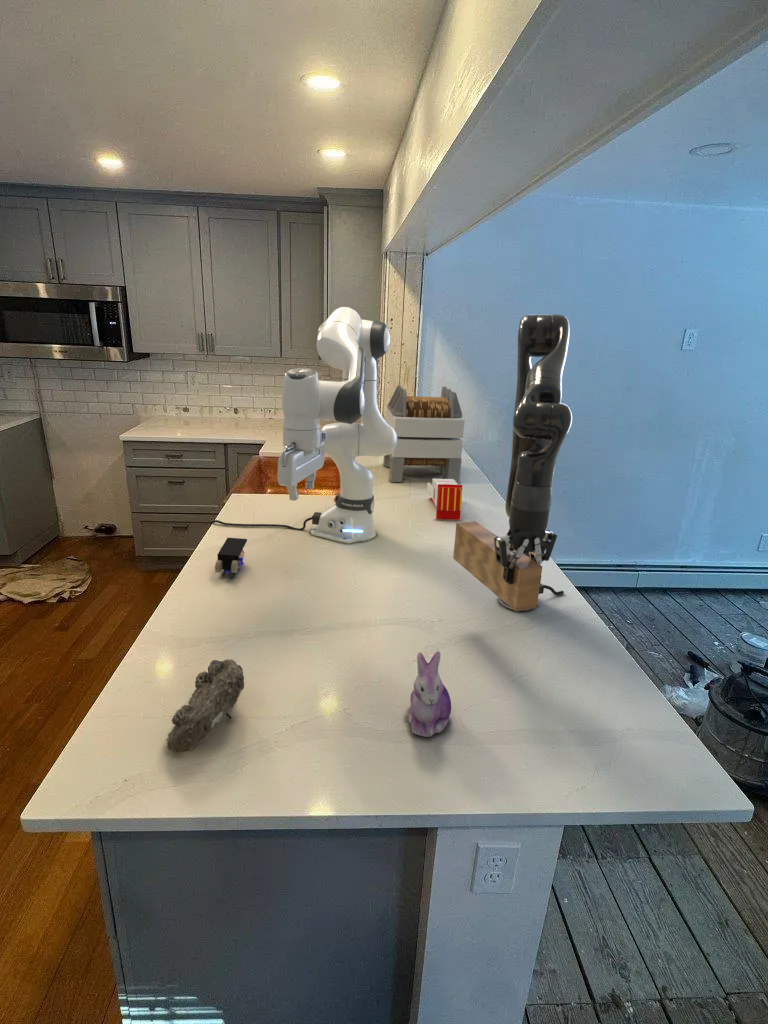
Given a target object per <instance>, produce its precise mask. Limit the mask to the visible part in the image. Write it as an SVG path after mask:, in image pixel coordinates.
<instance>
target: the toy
mask: <svg viewBox="0 0 768 1024" xmlns="http://www.w3.org/2000/svg"><path fill="white" fill-rule="evenodd" d="M431 480H432V481H431V483H430V482H427V487H426V493H427V495H429V500H430V501H431V502H432V503H433V504H434V506H435V508H436V510H435V511H436V513H435V520H442V521H443V520H445V521H447V520H448V521H461V511H462V502H463V501H462V500H463V499H462V498H463V484H459V483H457V482H456V481H455V480H454V479H445V478H432V479H431Z"/></svg>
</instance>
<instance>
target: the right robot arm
mask: <svg viewBox="0 0 768 1024" xmlns="http://www.w3.org/2000/svg"><path fill="white" fill-rule="evenodd" d="M569 342H570V321H569V319H568V318H567V316H565V315H562V314H525V315H523V316H522V317H521V319H520V321H519V323H518V329H517V344H516V345H517V348H516V350H517V353H516V355H517V357H516V359H517V360H516V390H515V400H514V408H513V409H514V410H513V417H512V436H511V437H512V439H511V458H510V469H509V475H508V483H507V489H506V496H505V506H504V507H505V508H504V509H505V514H506V516H507V517H508V525H509V529H508V531H507V533H506V534H505V535H504V536H499V535H497V536H496V537H495V538H494V545H495V555H496V561H497V562H498V563H499V564H501V565H502V566H503V567H504V571H503V579H504V581H505V582H506V583H507V584H513V577H514V570H515V568H514V567H515V565H516V562H517V560H518V559H520V558H521V556H522V554H525V555H526V556H528V557H529V558H531V559H532V560H534V561H535V562H537V563H538V564H540V565H542V563H543V562H544V561H545V562H548V561H549V560H550V558H551V555H552V552H553V550H554V547H555V543H556V541H557V538H558V535H557V534H556V533H554V532H553V531H552V530H549V529H547V528H548V525H549V524H548V523H549V517H550V511H551V507H552V498H553V481H554V474H555V468H556V464H557V460H558V456H559V454H560V451H561V449H562V446H563V444H564V442H565V440H566V438H567V435H568V434H569V431H570V429H571V427H572V423H573V414H572V411H571V409H570V407H569V406H568V405H567V404H565V403H562V402H561V401H562V397H563V396H562V395H563V381H562V380H563V373H564V368H565V365H566V360H567V355H568V349H569V344H570V343H569ZM532 358H540V359H538V360H537V362H536V363H535V364H534V365H533V366H532ZM508 544H509V546H508ZM507 547H508V548H507ZM506 548H507V550H506ZM514 550H516V551H517V552H516V553H515V552H514ZM511 557H512V559H511ZM510 560H511V561H510ZM541 577H542V574H541ZM541 581H542V579H541V580H540V587H539V594H538V597H539V596H540V595H541V594H544V590H545V589H546V590H549V591H550V592H551V593H552V594H553V595H555V596H559V595H564V593H565V591H564V590H559V591H556V590H555V589H554V588H553V587H552V586H549V585H547V584H543V583H541ZM538 602H539V599H538V600H537V603H538ZM499 603H500V604H501V606H503V607H504V608H506V609H509V610H511V611H514V610H513V609H512V608H511V607H510V606H509V605H508V604H506V603H505V602H504V601H503V600H502V599H500V598H499ZM531 610H532V609H527V610H521V611H520V612H527V611H531Z"/></svg>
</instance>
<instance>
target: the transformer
mask: <svg viewBox="0 0 768 1024" xmlns="http://www.w3.org/2000/svg"><path fill="white" fill-rule="evenodd" d="M440 393H441V394H440V396H415V395H414V396H413V395H412V396H411V395H407V394H408V393H407V390H406V389H404V388H403V387H402V385H399V384H398V385H397V386H396V388H395V390H394V392H393V394H392V395H391V398H390V400H389V402H388V404H387V405H386V413H385V414H386V415H385V421H386V422H387V423H388V424H389V425H390V426H391V427H392V428H393V429H394V430H395V432H396V435H397V445H396V448H395V450H394V451H393V452H392V453H391V454H389V455H385V456H383V466H384V467H388V468H389V475H388V476H389V477H388V478H389V480H390V482H391V483H402V482H403V475H404V469H405V466H406V467H407V466H411V467H412V466H413V467H415V466H416V467H417V466H418V467H436V468H437V470H438V469H439V473H440V474H441V475H443V479H454V480H455V481H456V482H457V483H458V484H459V483H461V472H462V461H463V460H462V453H463V442H464V441H463V440H462V439H463V438H464V431H465V430H464V429H465V419H464V418H463V411H462V408H461V405H460V402H459V398H458V395H457V392H455V391H453V390H452V389H451V388H447V386H442V387H441V392H440Z"/></svg>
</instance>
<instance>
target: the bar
mask: <svg viewBox="0 0 768 1024" xmlns="http://www.w3.org/2000/svg"><path fill="white" fill-rule="evenodd" d="M496 536H498V535H497V534H495V533H493V532H492V531H490V530H489V529H488V528H486V527H485V526H483V525H482V524H480V523H479V522H477V521H476V520H469V521H460V522H456V523H455V536H454V545H453V555H452V559H453V560H454V561H455V562H456V563H457V564H458V565H460V567H462V568H463V569H464V570H465V571H466V572H468V573H469V574H471V575H472V576H473V577H474V578H475V579H476V580H478V581H479V582H480V583H481V584H482V585H483V586H484V587H486V588H487V589H488V590H489V591H491V592H492V593H493V594H494V595H495V596H497V598H499V599H502V600H503V601H504V602H505V603H506V604H508V605H509V606H510V607H511V608H512V609H513V610H512V611H515V612H522V611H521V610H527V609H531V610H532V609H536V608H537V606H538V602H537V600H538V601H539V596H538V594H539V587H540V580H541V581H542V576H541V575H542V572H543V565H542V564H538V563H537V562H535V561H534V560H532V559H531V558H529V557H528V556H526V555H525V554H522V556H521V558H520V559H518V560H517V562H516V565H515V567H514V568H515V570H514V577H513V584H507V583H506V582H505V581H504V579H503V571H504V567H503V566H502V565H501V564H499V563H498V562H497V561H496V555H495V545H494V538H495V537H496ZM508 546H509V544H508ZM507 548H508V547H507ZM507 548H506V550H507ZM514 552H515V553H516V552H517V551H516V550H514ZM511 559H512V557H511ZM510 561H511V560H510ZM539 595H540V594H539Z"/></svg>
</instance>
